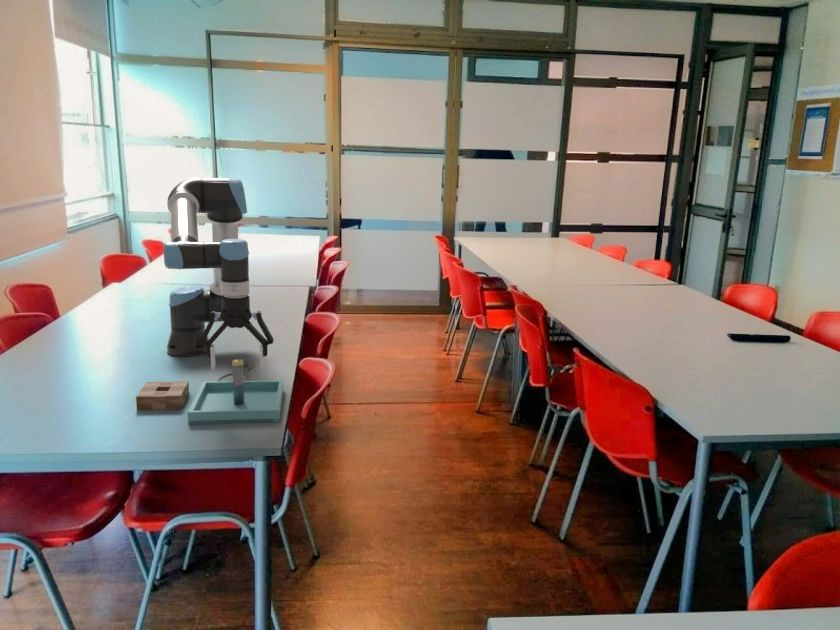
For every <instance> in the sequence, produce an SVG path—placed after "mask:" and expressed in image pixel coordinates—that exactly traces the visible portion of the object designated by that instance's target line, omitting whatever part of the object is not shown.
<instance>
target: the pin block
mask: <svg viewBox="0 0 840 630" xmlns="http://www.w3.org/2000/svg"><path fill="white" fill-rule="evenodd" d="M189 395H190V381H188V380H187V381H186V380H185V381H147V382H145V384H144V385H143V387H142V388H141V389H140V391H139V392H138V393H137V395H136V396H135V400H136V401H135V402H136V411H145V410H146V411H148V410H149V411H151V410H153V411H156V410H161V411H162V410H182V408H183V407H184V404H185V402H186V401H187V399H188V398H189Z"/></svg>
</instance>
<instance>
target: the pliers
mask: <svg viewBox="0 0 840 630" xmlns="http://www.w3.org/2000/svg"><path fill="white" fill-rule="evenodd" d="M247 365H248V362H245V363H243V375H244V376H245V378H246V379H245V381H250V375H249V373H248V372H249V371H251V370H252V369H254V367H255V365H256V364H255V362H254V363H252V364H251V365H249V366H247ZM228 376H233V372H230V373H227V374H224V375H222V376H220V377H219V378H218V379H217V381H222V379H224V378H226V377H228Z"/></svg>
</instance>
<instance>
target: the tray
mask: <svg viewBox="0 0 840 630" xmlns="http://www.w3.org/2000/svg"><path fill="white" fill-rule="evenodd" d="M283 395H284V379H283V380H282V379H279V380H278V379H277V380H276V379H275V380H273V379H272V380H248V381H246V380H244V404H242V405H234V398H233V380H223V381H222V380H220V381H218V380H216V381H212V380H211V381H209V380H208V381H202V382H201V385H200V386H199V389H198V391H197V393H196V395H195V397H194V399H193V401H192V403H191V405H190V407H189V408H188V410H187V421H188V423H187V424H188V425H212V424H213V425H216V424H221V425H222V424H252V423H253V424H254V423H261V424H262V423H279V422H280V417H281V410H282V404H283Z"/></svg>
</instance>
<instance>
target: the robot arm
mask: <svg viewBox="0 0 840 630" xmlns="http://www.w3.org/2000/svg"><path fill="white" fill-rule="evenodd" d="M245 194H246V193H245V188H244V184H243V182H242V180H241V179H238V178H229V177H191V178H187V179H184V180H183V181H181V182H179V183H178V184H177V185H176V186H174V187H173V189H171V191H170V192H169V195H168V197H167V204H166V205H167V210H168V211H169V213H170V230H171V231H170V232H171V233H170V240H171V241H169V242H164V243H163V261H164V266H165V268H166V269H170V270H178V271H179V270H194V269H195V270H196V269H213V282H212V283H211V284H210V286H209V289H208V290H204V287H203V286H200V285H191V286H184V287H180V288H177V289H174V290H172V291H171V292H170V294H169V304H168V306H169V313H170V314H169V315H170V334H169V338H168V342H167V345H166V352H167V354H168V355H172V356H176V357H194V356H201V355H204V354H206V356H207V358H210V366H211V367H210V369H211V370H215V368H216V353H215V352H216V349H215V347H216V346H215V344H213V343H214V342H215V341H216V339H218V338H219V337H220V335H221V334H222V333H223V331H225V330H226V329H227V327H229V328H230V329H243V328H244V327H245V329H246V330H248V331H249V333H251V334H252V336H253V337H254V338H255V339H256V340H257V341H258V342H259V343H260V345H259V360H260V361H259V363H260V367H259V368H260V369H264V366H265V360H264V357H267V356H268V345H272V344H273V343H274V337H273V335H272V333H271V331H270V330H269V328H268V326H267V325H266V322H265V321H264V319H263V315H262V314H263V313H262V311H261V310H258V311H256V312H252V311H251V307H250V306H251V305H250V302H251V300H250V296H249V294H250V278H249V271H250V270H249V269H250V268H249V255H250V251H249V243H248V242H247V240H245V239H242V238H241V239H240V238H239V223H240V222H241V221H242V220H243V218H244V217H243V215H245V214H247V213H248V206H247V200H246V195H245ZM198 214H206V217H207V219H208V220H209V221H210V222H211V227H212V228H211V230H212V231H211V233H212V241H199V231H198V229H199V228H198V218H197V215H198ZM252 318H253V319H254V320H255V321H256V322H257V324H258V325H259V327H260V330H261V331H262V333H263V334H262V333H260V332H259V330H258V329H257V328H256V327H255V326H254V325H253V323H252V322H251V321H250V320H251V319H252ZM217 322H218V323H221V322H223V323H222V324H221V325H220V326H219V328H217V330H216V331H215V332H214V333H213V335H212V336H210V338H209V333H210V331H211V329H212V328H213V326H214V323H217ZM205 323H207V325H206V324H205ZM263 335H264V336H263Z"/></svg>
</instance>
